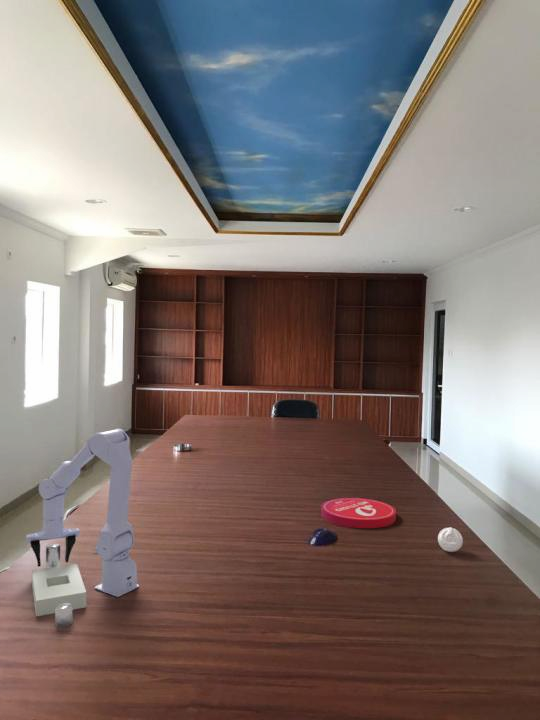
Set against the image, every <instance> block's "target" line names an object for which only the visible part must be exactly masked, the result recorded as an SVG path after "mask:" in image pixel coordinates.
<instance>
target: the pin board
mask: <svg viewBox="0 0 540 720" xmlns="http://www.w3.org/2000/svg"><path fill="white" fill-rule="evenodd" d="M31 588H32V597H33V604H34V612H35V613H34V614H35V617H41V616H48V615H51V614H55V607H56V606H57V605H59V604H62V603H70V604H72V605H73V611H74V610H77V609H84V608H87V590H86V587H85V583H84V581H83V577H82V575H81V572H80V569H79V566H78V564H77V563H72V564H66V565H60V566H58V567H52V568H46V567H45V568H40V569H33V570H31Z"/></svg>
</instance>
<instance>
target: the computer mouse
mask: <svg viewBox="0 0 540 720" xmlns="http://www.w3.org/2000/svg"><path fill="white" fill-rule="evenodd" d="M337 537H338V535H337V533H336V531H331V530H329V529H328V528H321V527H318V528H316V529H315V530H314V532H313V534H312V536H310V537H309V538H307V544H309V545H311V546H314V547H320V546H325V545H329V544H331V543H333V542H335V540H336V539H337Z"/></svg>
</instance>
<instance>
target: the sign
mask: <svg viewBox="0 0 540 720" xmlns="http://www.w3.org/2000/svg"><path fill="white" fill-rule="evenodd" d="M320 511H321V512H320V513H321V518H323V519H324V520H325V521H327V522H329V523H332V524H334V525H338V526H342V527H347V528H356V529H375V528H376V529H377V528H378V529H379V528H384V527H388V526H391V525H393V524H394V523H395V522H396V520H397V518H396V517H397V511H396V508H395V507H393V506H392V505H390V504H388V503H386V502H383V501H379V500H375V499H369V498H361V497H342V498H335V499H330V500H327V501H325V502H323V503H322V504H321V509H320Z"/></svg>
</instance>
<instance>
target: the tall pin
mask: <svg viewBox="0 0 540 720" xmlns="http://www.w3.org/2000/svg"><path fill="white" fill-rule="evenodd" d="M58 566H61V544H59V543H52V544H48V545H46V546H45V568H52V567H58Z"/></svg>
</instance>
